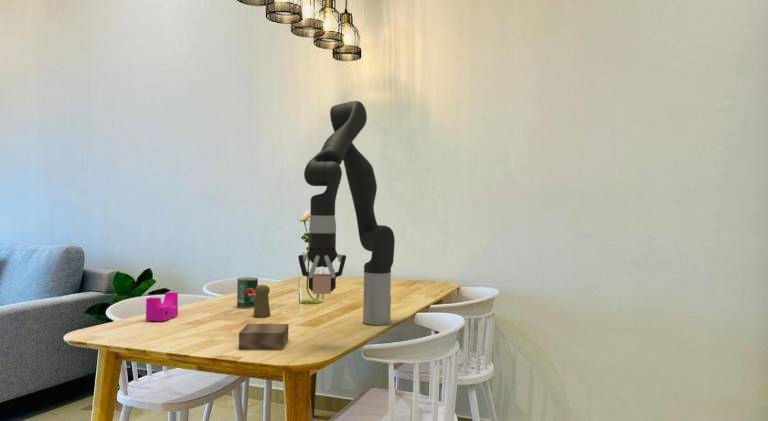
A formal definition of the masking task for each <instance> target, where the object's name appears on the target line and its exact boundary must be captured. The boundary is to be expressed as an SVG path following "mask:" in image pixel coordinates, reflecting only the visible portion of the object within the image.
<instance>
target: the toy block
mask: <svg viewBox="0 0 768 421" xmlns="http://www.w3.org/2000/svg"><path fill="white" fill-rule="evenodd" d="M178 294H179V293H178V292H175V291H174V292H173V291H172V292H171V291H167V292H165V294H164V299H163V302H162V299H161V297H156V296H155V297H153V296H152V297H150V296H149V297H147V298H146V299H145V302H146V303H145V321H151V322H153V321H155V322H165V321H167V320H169V319H173V318H174V317H178V316H179V305H178V302H179V301H178V299H179V298H178V296H179V295H178Z"/></svg>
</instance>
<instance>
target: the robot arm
mask: <svg viewBox="0 0 768 421" xmlns="http://www.w3.org/2000/svg"><path fill="white" fill-rule="evenodd" d="M329 113H330V114H329V115H330V116H329V118H330V122H331V126H332V129H333V133H331V135H329V137H328V138H327V139H326V140H325V142H324V144H323V146H322V148H321V149H320V151H319V152H318V153H317V154H315V156H313V157H312V158H311V159H310V160H309V161H308V163H307V164H306V166H305V168H304V172H303V177H304V180H305V182H306V183H307V184H308V185H309V186H312V187H326V188H325V191H324V192H322V193H318V194H314V195H312V196H311V198H310V218H309V224H308V225H309V227H308V231H309V232H308V233H309V235H308V236H309V239H308V240H309V241H308V242H309V243H308V244H309V245H308V246H309V247H308V251H307V253H305V254H299V255H298V257H297V258H298V264H299V267H300V270H301V275H302V276H303V277H307V278H308V289H309V290H310V292H313V275H314V274H315V272H316V269H317V268H322V267H323V268H327V269H328V272H329V274H331V292H334V290H336V287H337V286H336V285H337V282H336V281H337V280H336V279H337V278H338V277H341V276H342V275H343V271H344V267H345V263H346V259H347V256H346V255H345V254H340V253H338V252H337V249H336V247H337V246H336V245H337V244H336V243H337V240H336V239H337V238H336V236H337V235H336V234H337V224H336V223H337V222H336V200H337V196H338V195H337V194H338V191H339V187H340V184H341V181H342V174H343V171H342V167H341V164H342V163H343V165H344V170H345V175H346V179H347V183H348V188H349V190H350V191H349V192H350V193H351V194H350V195H351V198H352V203H353V207H354V212H355V217H356V223H357V231H358V237H359V241H360V245H361V246H362V247H363V249H364V250H366V251H368V252H371V257H370V260H369V261H367V262H365V263H364V266H363V301H362V302H363V304H362V306H363V307H362V310H363V311H362V313H363V314H362V323H364V324H366V325H370V326H373V325H375V326H376V325H377V326H382V325H383V326H384V325H391V314H392V312H391V310H392V309H391V308H392V307H391V306H392V304H391V302H392V296H391V290H392V288H391V286H392V285H391V283H392V282H391V281H392V280H391V277H392V275H391V274H392V267H393V264H394V260H395V259H394V256H395V241H396V240H395V234H394V231H393V230H392V228H391V227H390V226H387V225H382V224H378V223H377V219H376V216H375V210H374V209H375V207H374V206H375V201H376V196H377V192H378V191H377V189H378V187H377V186H378V185H377V180H376V175H375V171H374V167H373V166H372V163H370V161H369V160H368V158H366V157H365V156H364V155H363V154H362V152H360V151H359V149H357V147H356V146H355V145H354V143H353V141H354V140H355V139H356V138H357V136H358V135H359V134H360V133H361V131H362V130H363V129H364V128H365V126H366V124H367V119H368V118H367V116H368V114H367V110H366V108H365V106H364V103H362V102H361V101H359V100H352V101H347V102H343V103H338V104H334V105H332V106H331V107H330V112H329ZM307 259H309V260H310V262H311V263H312V264H311V267H310V271H307V267H306V266H307V265H306V261H307ZM336 259H337V261H338V262H339V267H338V271H335V268H334V265H333V263H334V262H335V260H336Z"/></svg>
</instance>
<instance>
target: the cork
mask: <svg viewBox="0 0 768 421" xmlns="http://www.w3.org/2000/svg"><path fill="white" fill-rule="evenodd" d="M270 291H271V289H270V286H269V285H266V284H260V285H258V286H256V288H255V293H256V301H255V307H254V308H253V315H252V316H253V317H254V318H268V317H271V311H270V310H271V309H270V301H269V294H270Z"/></svg>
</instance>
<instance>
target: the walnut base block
mask: <svg viewBox="0 0 768 421" xmlns="http://www.w3.org/2000/svg"><path fill="white" fill-rule="evenodd" d="M288 341H289V323H246V325H245V326H244V327H243V328H242V329H241V330H240V331H239V333H238V350H239V351H240V350H241V351H242V350H243V351H244V350H245V351H246V350H247V351H249V350H251V351H254V350H255V351H257V350H258V351H259V350H260V351H264V350H265V351H273V350H274V351H282V350H284V349H285V347H286V344H287V343H288Z"/></svg>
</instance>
